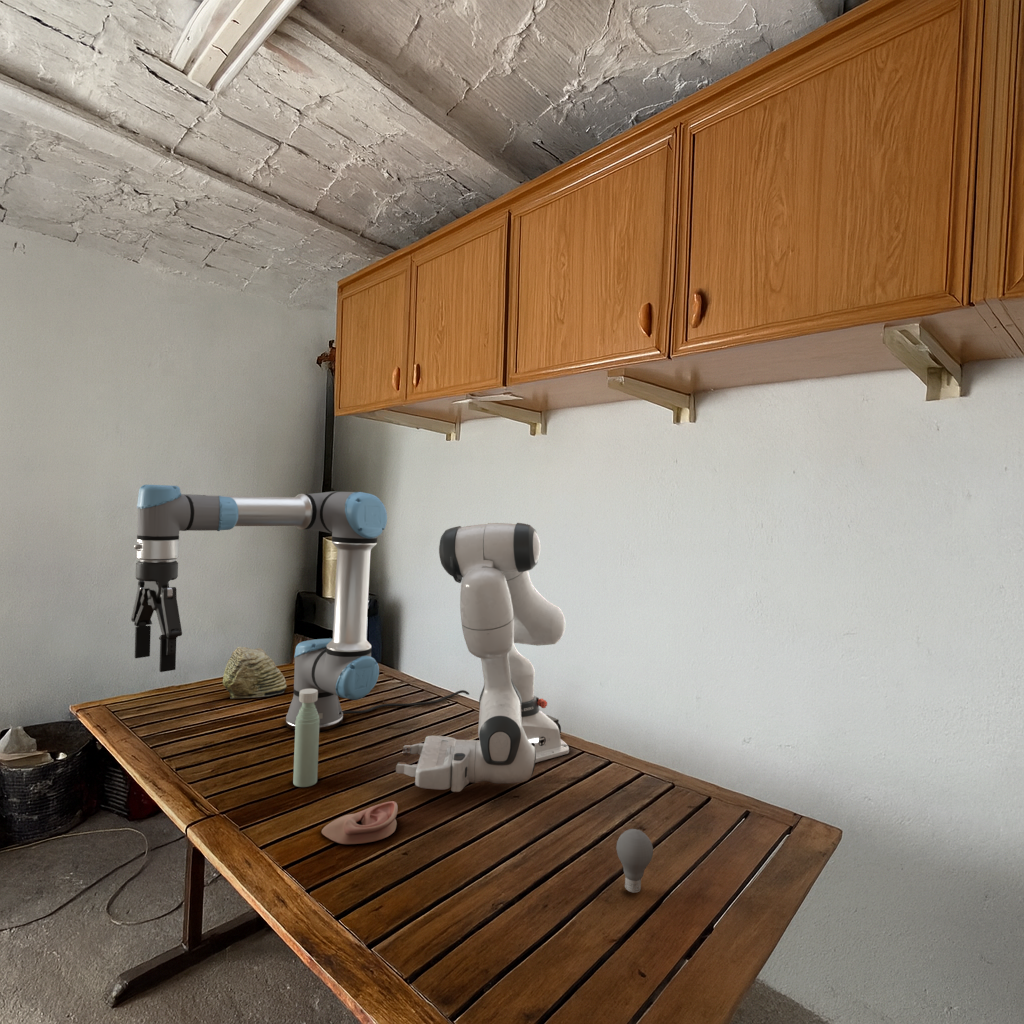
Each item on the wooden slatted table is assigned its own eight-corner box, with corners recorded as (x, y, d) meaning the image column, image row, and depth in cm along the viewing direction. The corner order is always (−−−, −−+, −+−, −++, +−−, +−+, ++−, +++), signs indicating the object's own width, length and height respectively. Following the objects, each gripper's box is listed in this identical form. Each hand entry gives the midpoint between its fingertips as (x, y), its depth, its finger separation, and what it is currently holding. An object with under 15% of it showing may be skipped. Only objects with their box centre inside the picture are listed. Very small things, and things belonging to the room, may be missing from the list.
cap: (303, 697, 142) (303, 687, 142) (320, 698, 142) (320, 689, 142) (296, 702, 138) (296, 693, 138) (313, 703, 138) (313, 694, 138)
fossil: (218, 695, 195) (220, 647, 195) (278, 685, 208) (279, 640, 207) (228, 703, 189) (230, 653, 188) (289, 692, 201) (290, 645, 201)
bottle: (299, 776, 143) (302, 688, 143) (320, 778, 143) (324, 690, 142) (289, 786, 138) (292, 695, 138) (311, 788, 138) (315, 697, 137)
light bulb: (610, 879, 108) (613, 822, 108) (644, 879, 109) (647, 822, 109) (619, 902, 102) (622, 840, 102) (655, 901, 103) (658, 840, 103)
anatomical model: (313, 818, 117) (342, 790, 128) (313, 839, 117) (341, 810, 128) (381, 829, 114) (404, 800, 125) (380, 850, 114) (403, 819, 125)
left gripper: (116, 555, 135) (113, 654, 135) (161, 567, 118) (157, 680, 119) (154, 554, 140) (151, 649, 141) (202, 565, 124) (199, 673, 124)
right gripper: (465, 729, 151) (407, 727, 151) (460, 765, 131) (392, 763, 130) (463, 755, 151) (405, 754, 151) (458, 796, 131) (391, 793, 130)
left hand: (154, 663), depth 130 cm, fingers open, 13 cm apart
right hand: (399, 758), depth 140 cm, fingers open, 8 cm apart
